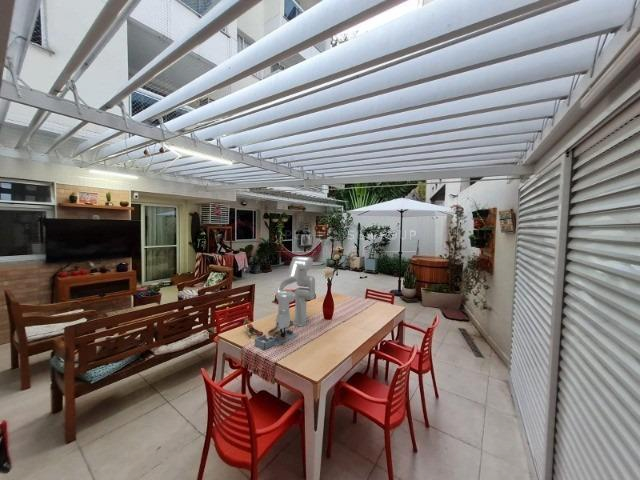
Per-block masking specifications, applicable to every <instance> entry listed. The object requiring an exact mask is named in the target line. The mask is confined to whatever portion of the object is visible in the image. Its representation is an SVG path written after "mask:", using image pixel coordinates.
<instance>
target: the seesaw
mask: <svg viewBox="0 0 640 480" xmlns="http://www.w3.org/2000/svg"><path fill="white" fill-rule="evenodd" d="M293 322H294V320H290V325H289V327H288V328H287V330H289V329H290V328H291V327H293V326H294V324H293ZM267 334H268V335H269V336H270V337H271V338H272V337H278V338H280V339H282V340H285V339H286V338H287V336H285V337H284V338H283V337H281V331H278V330H277V327H276V326H274V327H273V328H271V329H269V330H268V331H267Z"/></svg>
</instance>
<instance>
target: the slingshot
mask: <svg viewBox="0 0 640 480" xmlns="http://www.w3.org/2000/svg"><path fill="white" fill-rule="evenodd" d="M243 320H244V322H243V328H244V329H245V330H246V334H247V336H248V337H254V338H258V337H260V336H262V335H264V331H261V330H258V329H256V328H254V326H253V324H251V323H252V321H251V320H249V317H245V318H244V319H243ZM245 324H246V326H245ZM248 332H250V333H252V332H253V333H254V334H256V335H250V334H249V333H248Z"/></svg>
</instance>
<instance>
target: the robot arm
mask: <svg viewBox="0 0 640 480" xmlns="http://www.w3.org/2000/svg"><path fill="white" fill-rule="evenodd" d="M313 262H314V260H313V258H312V257H310V256H299V255H298V256H293V257H292V259H291V262H290V264H289V267H288V271H287V275H286V277H285V278H284V279H283V280H282V281H281V282H280V283H279V285H278V286H277V289H276V292H275V293H276V294H275V296H276V297H275V298H276V300H277V301H278V308H277V310H278V311H277V314H276V316H275V317H276V319H275V327H277V330H278V331H281V333H280V334H281V337H283V338H284V337H285V331H286V329H287V328H288V327H289V325H290V321H291V315H290V303H292V302H295V306H294V307H295V310H294V312H295V314H294V320H293V326H296V327H305V326H307V325H308V323H309V322H308V320H309V319H310V316H307V301H306V300H308V301H309V300H310V301H312V300H314V299H315V296H316V279H315V276H314V275H313V276H312V275H307V274H308V273H307V272H308V271H309V270H310V269H311V267H312V266H313ZM293 283H296V284H297V286H298V287H296V288H295V289H294V291H293V290H292V291H291V290H284V288H286V286H288V285H290V284H291V285H292V284H293ZM288 329H289V328H288ZM288 329H287V330H288Z"/></svg>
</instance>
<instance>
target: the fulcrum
mask: <svg viewBox="0 0 640 480" xmlns="http://www.w3.org/2000/svg"><path fill="white" fill-rule="evenodd" d="M285 336H287V338H286V339H285V340H282V339H280V338H278V337H272V336H270V337H268V339H270V340H272V339H275V346H274V347H277V346H280V345H282V344H284V343H286V342H289V341H291V340H292V339H295V338H297V337H298V335H297V334H295V333H294V331H292V330H290V329H286V331H285Z"/></svg>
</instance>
